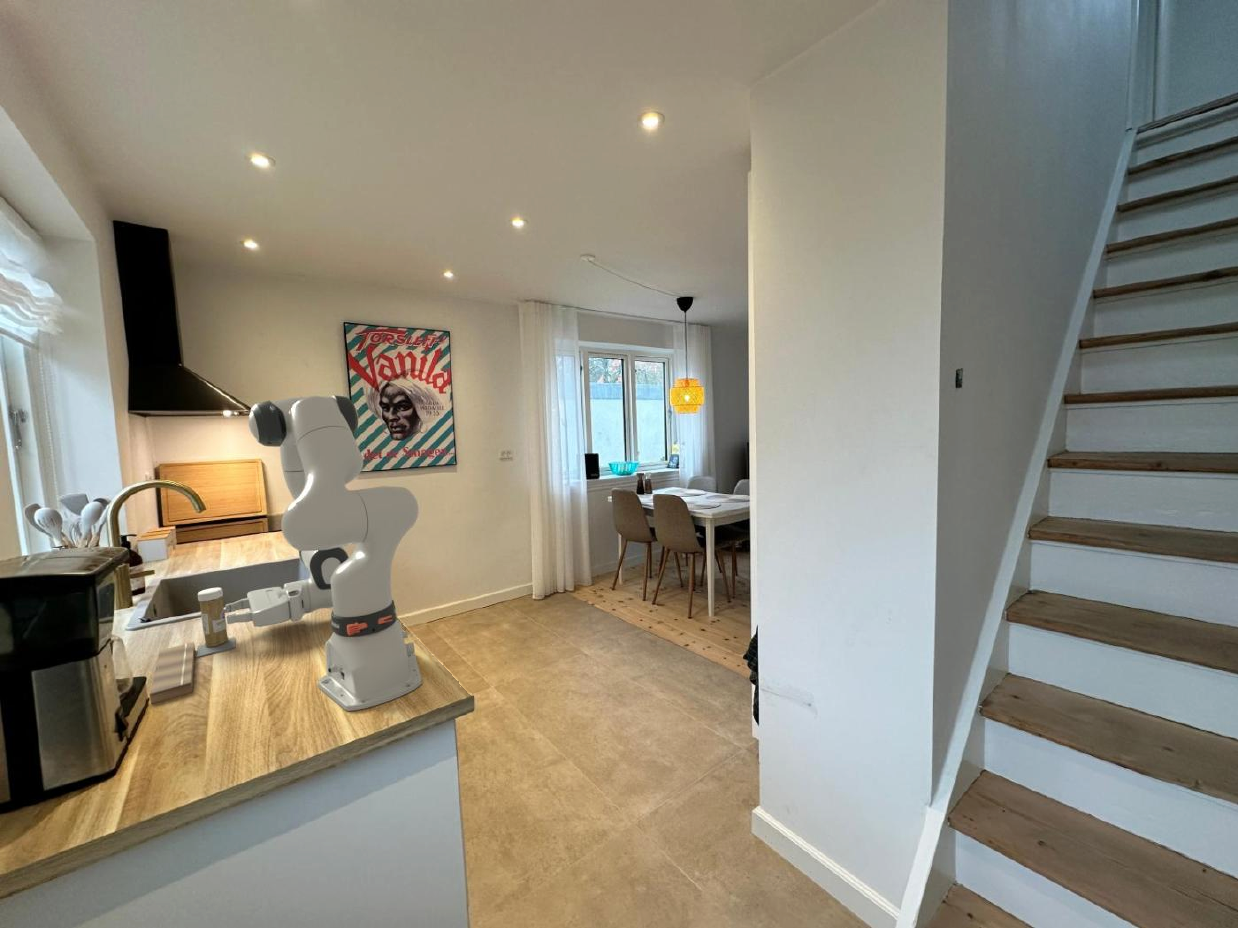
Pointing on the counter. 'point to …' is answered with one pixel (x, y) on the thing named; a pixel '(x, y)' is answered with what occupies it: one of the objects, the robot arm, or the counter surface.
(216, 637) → the sprinkles bottle
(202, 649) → the end pad
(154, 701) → the board
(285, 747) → the counter surface
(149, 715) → the counter surface
